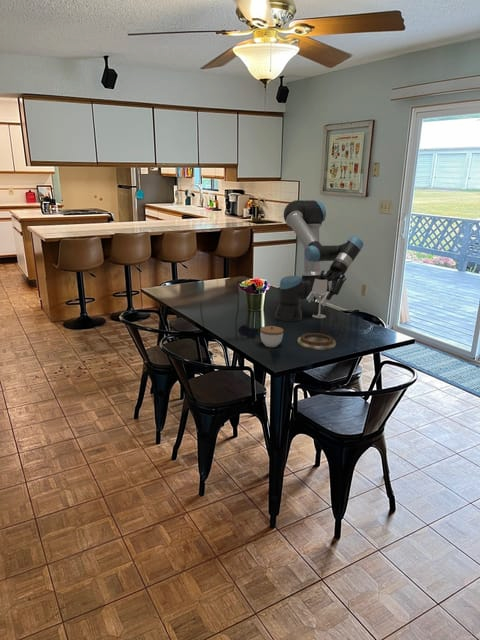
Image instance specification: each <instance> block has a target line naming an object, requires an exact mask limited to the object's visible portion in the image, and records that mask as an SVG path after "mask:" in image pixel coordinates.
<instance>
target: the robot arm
mask: <svg viewBox="0 0 480 640" xmlns="http://www.w3.org/2000/svg"><path fill="white" fill-rule="evenodd" d="M326 217H327V209H326V207H325V205H324V203H323V202H322V201H320V200H315V199H313V200H309V199H308V200H301V199H300V200H299V199H296V200H292V201H290V202H289V203H288V204H286V206H285V208H284V209H283V220H284V222H285V224H286V225H287V226H288V227H291V228H292V229H291V230H293V232H294V233H295V235H296V237H297V238H298V240H299V242H301V244H302V246H303V261H304V263H303V264H304V270H303V271H304V272H303V273H302V275H301V276H299V275H289V276H284V277H282V278H281V279H280V281H279V286H278V287H279V291H278V292H279V293H278V305H277V308H276V310H275V314H274V319H276V320H278V321H280V322H287V323H288V322H289V323H295V322H301V321H302V320H303V312H302V309H301V300H306V301H308V303H311V302H312V300H318V299H317V298H316V297H315V296H314V295H313V293H312V287H313V284H314V281H315V278H317V277H323V278H328V281H329V282H331V285H330V290H329V291H330V292H327V294H326V295H325V296H324V298H323V299H322V301H321V302H320V303H321V305H322V307H325V306H326V305H327V303H328V302H329V301H331V298H332V297H333V296H338V295H339V293H340V291H341V289H342V288H343V285H344V283H345V282H346V280H347V276H346V275H345V273H346V272H347V271H348V269H349V268H350V266H351V265H352V263H353V262H354V261H355V259H356V257H357V256H358V255H359V253H360V252H361V250H362V248H363V246H364V242H363V240H362V239H361V238H360V237H358V236H350V237H349V238H348V239H347V241H346V242H344V243H342V244H339V245H337V244H336V245H322V243H321V242H320V228H321V227H322V225H323V224H322V223H323V222H325V220H326ZM321 262H332V263H331V264H330V267H329V269H328V270H327V271H325V270H321Z"/></svg>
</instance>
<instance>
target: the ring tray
mask: <svg viewBox="0 0 480 640" xmlns="http://www.w3.org/2000/svg"><path fill="white" fill-rule="evenodd" d="M297 344H298V345H299V346H301V347H303V348H305V349H311V350H318V351H319V350H320V351H321V350H322V351H325V350H331V349H334V348H335V347H336V344H337V342H336V340H335V339H334V337H332V336H331V335H328V334H326V333H319V332H307V333H304V334H301V335H300V336H299V337H298V338H297Z"/></svg>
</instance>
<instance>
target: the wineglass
mask: <svg viewBox="0 0 480 640" xmlns="http://www.w3.org/2000/svg"><path fill="white" fill-rule="evenodd" d="M329 282H330V281H328V278H323V277H317V278H315V281H314V284H313V287H312V293H313V295H314V296H315V297H316V298H317V299H316V300H318V313H314V314H312V318H316V319H325V318H326V317H327V316H326V315H325V314H323V313H322V314H321V305H322V304H321V303H320V302H321V301H322V299H323V298H324V296H325V295H326V294H327V292H330V291H329V290H330V288H331V285H330V283H329Z"/></svg>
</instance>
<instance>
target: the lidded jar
mask: <svg viewBox="0 0 480 640" xmlns="http://www.w3.org/2000/svg"><path fill="white" fill-rule="evenodd" d="M259 335H260V340H261V342H262V343H263V344H264V347H267V348H276V347H278V346H279V345H280V344H281V342H282V340H283V337H284V329H283V328H282V327H280V326H274V325H265V326H262V327H260V334H259Z"/></svg>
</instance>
